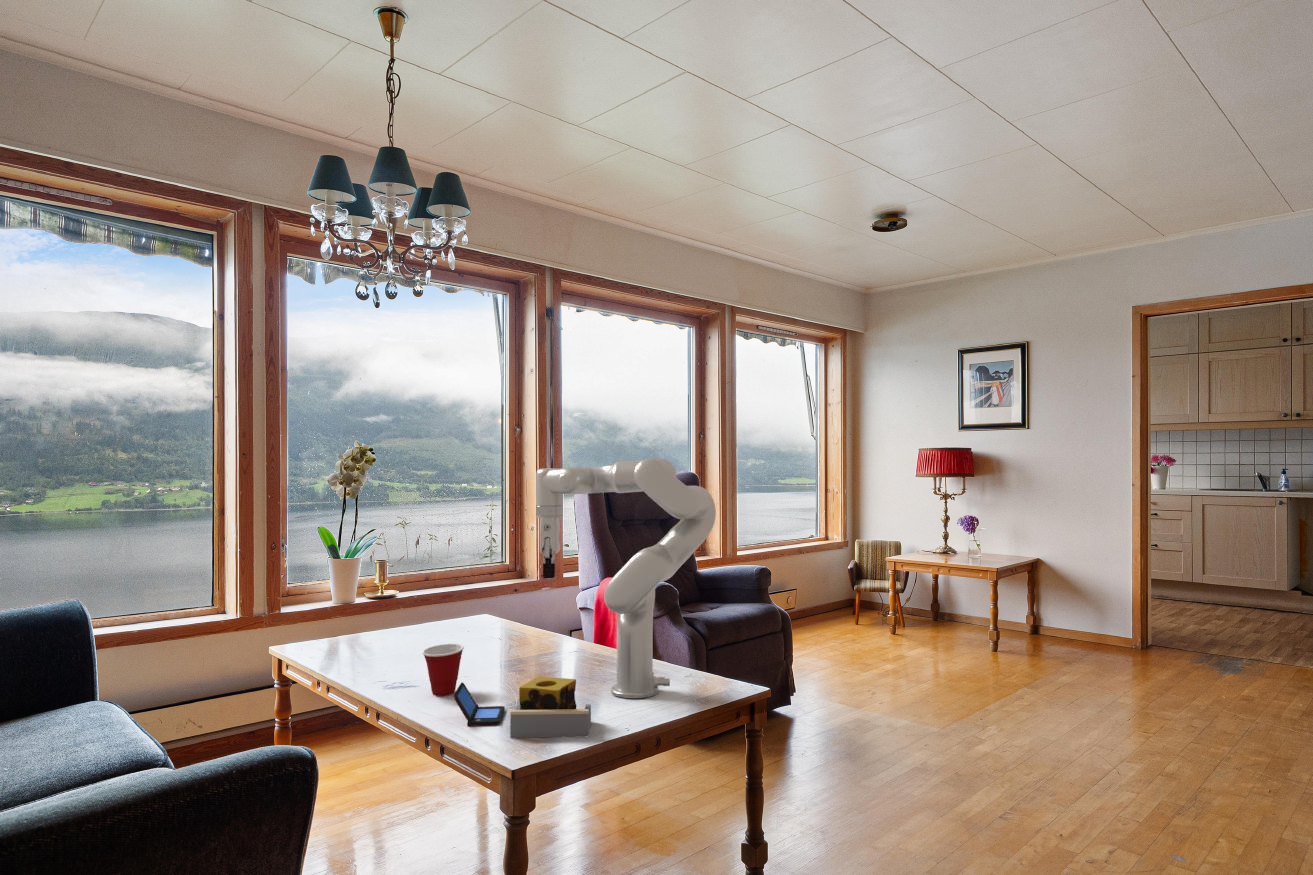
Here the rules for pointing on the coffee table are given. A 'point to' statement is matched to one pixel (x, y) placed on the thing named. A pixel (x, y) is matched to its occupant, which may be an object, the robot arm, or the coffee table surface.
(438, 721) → the coffee table surface
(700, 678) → the coffee table surface
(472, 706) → the handheld game console
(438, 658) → the plastic cup
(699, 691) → the coffee table surface
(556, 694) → the yellow and black cube
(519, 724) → the holder
